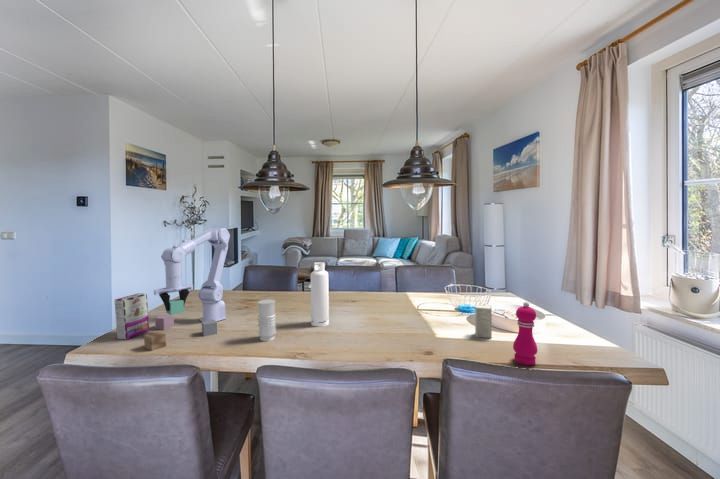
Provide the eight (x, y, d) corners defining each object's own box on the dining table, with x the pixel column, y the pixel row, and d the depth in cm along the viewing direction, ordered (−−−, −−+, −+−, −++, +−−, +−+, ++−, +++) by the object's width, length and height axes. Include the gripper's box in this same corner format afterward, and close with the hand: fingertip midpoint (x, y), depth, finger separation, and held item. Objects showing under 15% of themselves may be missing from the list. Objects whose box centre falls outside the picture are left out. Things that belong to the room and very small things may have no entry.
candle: (260, 342, 126) (259, 304, 125) (257, 337, 132) (256, 300, 132) (278, 339, 129) (277, 302, 129) (274, 334, 136) (273, 298, 135)
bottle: (307, 325, 147) (306, 263, 145) (316, 320, 154) (316, 261, 153) (323, 327, 144) (323, 264, 142) (332, 322, 151) (331, 262, 150)
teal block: (179, 310, 140) (178, 298, 140) (183, 312, 137) (183, 300, 137) (166, 312, 136) (165, 300, 136) (171, 314, 133) (170, 302, 133)
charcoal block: (214, 330, 141) (214, 319, 140) (217, 334, 136) (216, 322, 136) (202, 333, 138) (201, 321, 137) (204, 336, 134) (203, 324, 133)
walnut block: (158, 344, 126) (157, 331, 126) (166, 346, 123) (165, 333, 123) (144, 348, 121) (144, 335, 121) (152, 351, 119) (151, 337, 119)
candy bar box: (139, 330, 142) (138, 292, 141) (149, 330, 141) (147, 293, 140) (115, 339, 131) (113, 299, 130) (126, 340, 130) (124, 299, 129)
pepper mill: (514, 354, 114) (516, 298, 113) (538, 359, 110) (540, 301, 109) (510, 362, 108) (512, 302, 107) (535, 367, 104) (537, 306, 103)
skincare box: (491, 334, 134) (491, 305, 133) (491, 338, 129) (492, 308, 129) (474, 333, 136) (475, 304, 135) (474, 336, 131) (475, 307, 131)
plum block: (165, 325, 148) (165, 314, 148) (174, 326, 146) (173, 315, 146) (155, 328, 143) (155, 317, 143) (164, 330, 142) (163, 318, 141)
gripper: (157, 280, 128) (159, 314, 128) (195, 275, 139) (197, 307, 140) (151, 278, 132) (152, 311, 133) (188, 273, 143) (189, 304, 144)
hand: (175, 309), depth 137 cm, fingers closed on teal block, 5 cm apart
